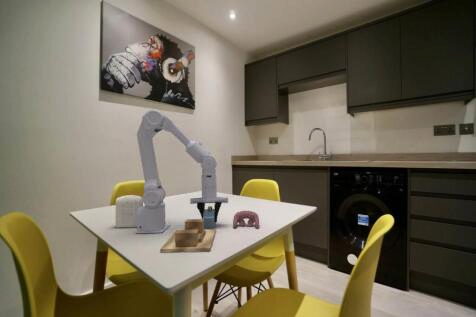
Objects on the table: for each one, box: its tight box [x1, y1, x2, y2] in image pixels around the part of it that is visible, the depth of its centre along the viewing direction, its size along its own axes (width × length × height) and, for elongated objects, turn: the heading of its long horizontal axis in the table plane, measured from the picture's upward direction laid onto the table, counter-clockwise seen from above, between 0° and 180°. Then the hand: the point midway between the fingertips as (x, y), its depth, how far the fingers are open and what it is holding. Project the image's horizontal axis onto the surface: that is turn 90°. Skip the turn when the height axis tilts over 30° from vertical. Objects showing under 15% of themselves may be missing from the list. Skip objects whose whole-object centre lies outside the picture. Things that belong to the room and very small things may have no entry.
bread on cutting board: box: [159, 218, 217, 254], centre depth 69 cm, size 14×16×5 cm
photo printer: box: [115, 194, 144, 228], centre depth 85 cm, size 10×4×12 cm, turn 94°
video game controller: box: [232, 210, 260, 229], centre depth 82 cm, size 10×5×7 cm, turn 85°
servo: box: [203, 205, 217, 229], centre depth 84 cm, size 4×10×7 cm, turn 0°
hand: (209, 221), depth 84 cm, fingers closed on servo, 4 cm apart
